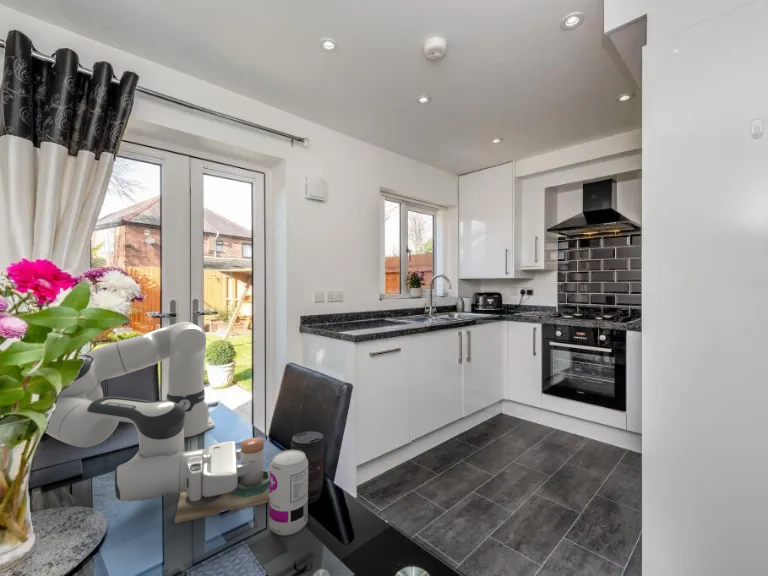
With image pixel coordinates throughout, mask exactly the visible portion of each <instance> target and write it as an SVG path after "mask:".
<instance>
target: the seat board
mask: <svg viewBox="0 0 768 576" xmlns="http://www.w3.org/2000/svg"><path fill="white" fill-rule="evenodd" d="M267 503H269V504H270V468H267V469H264V468H263V481H262V482H261V483H260V484H259V485H255V486H250V487H244V486H242V485H241V476H238V483H237V488H236V489H234V490H233V491H231V492H228V493H224V494H220V495H215V496H210V497H204V496H203V495H202V498H201V499H200V500H197V501H191V500H190V498H189V496H188V495H187V494H186V492H182V493H179V498H178V502H177V507H176V511H175V515H174V516H175V517H174V524H175V525H176V524H179V523H180V524H181V523H185V522H190V521H193V520H194V521H195V520H197V519H202V518H206V517H211V516H215V515H219V514H220V511H222V510H226V509H228V510H230V511H229V512H233V511H237V510H242V509H247V508H250V507H255V506H259V505H263V504H267ZM246 507H247V508H246Z"/></svg>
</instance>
